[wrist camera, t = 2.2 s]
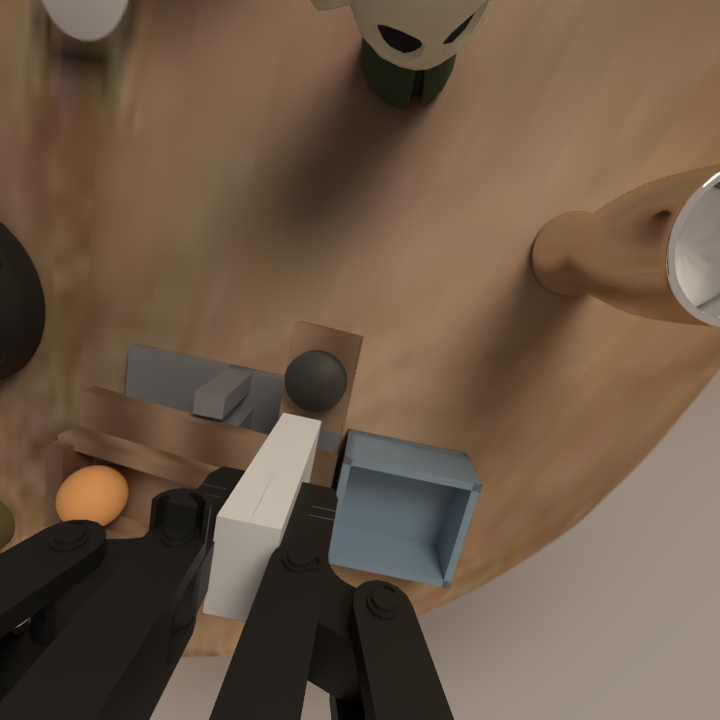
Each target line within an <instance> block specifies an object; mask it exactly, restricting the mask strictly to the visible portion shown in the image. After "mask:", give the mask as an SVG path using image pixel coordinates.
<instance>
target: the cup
mask: <svg viewBox="0 0 720 720" xmlns="http://www.w3.org/2000/svg"><path fill="white" fill-rule="evenodd" d="M481 486H482V485H481V482H480V480H479V478H478V476H477V474H476V472H475V470H474V468H473V466H472V464H471V462H470V459H469V457H468V455H467V454H466V453H461V452H456V451H452V450H447V449H442V448H437V447H433V446H428V445H423V444H418V443H414V442H409V441H404V440H399V439H395V438H390V437H385V436H381V435H376V434H371V433H366V432H362V431H357V430H352V429H349V431H348V436H347V440H346V445H345V449H344V454H343V458H342V463H341V468H340V472H339V477H338V481H337V486H336V490H335V493H336V495H337V498H338V503H337V509H336V514H335V520H334V526H333V531H332V537H331V543H330V548H329V554H328V561H329V564H333V565H338V566H343V567H348V568H352V569H357V570H362V571H367V572H372V573H376V574H381V575H386V576H391V577H396V578H401V579H405V580H410V581H415V582H420V583H425V584H430V585H434V586H439V587H444V588H450V584H451V581H452V578H453V575H454V572H455V569H456V565H457V562H458V559H459V556H460V553H461V550H462V546H463V543H464V540H465V537H466V534H467V531H468V527H469V524H470V521H471V518H472V515H473V512H474V508H475V505H476V502H477V499H478V496H479V493H480V489H481Z"/></svg>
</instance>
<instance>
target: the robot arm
mask: <svg viewBox="0 0 720 720" xmlns="http://www.w3.org/2000/svg"><path fill="white" fill-rule="evenodd" d="M44 317H45V306H44V297H43V291H42V287H41V283H40V280H39V277H38V274H37V272H36V269H35V267H34V265H33V263H32V261H31V259H30V257H29V256H28V254H27V252H26V251H25V249H24V248H23V246H22V245H21V243H20V242H19V241H18V240H17V238H16V237H15V236H14V235H13V234H12V233H11V232H10V231H9V230H8V229H7V228H6V227H5V226H4V225H3V224H2V223H1V222H0V379H3V378H5V377H7V376H9V375H11V374H13V373H14V372H16V371H17V370H18V369H20V368H21V367H22V366H23V365H24V364H25V363H26V362H27V361H28V360H29V358H30V357H31V356H32V354H33V353H34V351H35V349H36V347H37V345H38V343H39V341H40V338H41V335H42V331H43V326H44ZM321 422H322V421H319V420H315V419H310V418H305V417H301V416H296V415H291V414H287V413H283V414H282V416H281V417H280V419H279V421H278V422H277V424H276V425H275V427H274V428H273V430H272V431H271V433H270V434H269V436H268V437H267V439H266V441H265V442H264V444H263V445H262V447H261V448H260V450H259V451H258V453H257V454H256V456H255V458H254V459H253V461H252V462H251V464H250V465H249V467H248V468H247V470H246V471H244V470H240V469H235V468H230V467H226V466H223V467H221V468H219V469H217V470H215V471H213V472H211V473H210V474H209V475H208V476H207V477H206V479H205V480H204V481H203V482H202V484H201V485H200V486H199V487H198V489H197V490H195V489H188V488H178V489H170V490H167V491H165V492H162V493H159V494H158V495H157V496H155V497H154V498H152V503H151V513H150V524H149V531H148V532H147V533H146V534H145V535H144V536H143V537H139V538H129V539H106V532H105V528H104V527H103V526H102V525H101V524H99V523H98V522H95V521H91V520H87V519H86V520H69V521H65V522H60V523H57V524H55V525H53V526H50V527H48V528H46V529H44V530H42V531H40V532H38V533H37V534H35V535H33V536H31V537H30V538H28V539H26V540H24V541H22V542H21V543H19V544H17V545H15V546H13V547H12V548H10V549H8V550H6V551H5V552H3V553H1V554H0V720H149V719H150V717H151V715H152V713H153V711H154V709H155V707H156V705H157V703H158V701H159V699H160V697H161V695H162V693H163V691H164V689H165V687H166V685H167V683H168V681H169V679H170V677H171V675H172V673H173V671H174V669H175V667H176V665H177V663H178V661H179V659H180V658H181V656H182V654H183V652H184V650H185V648H186V646H187V644H188V642H189V640H190V638H191V636H192V634H193V630H194V627H195V622H196V615H197V611H198V609H199V607H200V606H201V604H202V602H203V600H204V598H205V601H204V608H203V613H206V614H210V615H215V616H220V617H224V618H229V619H234V620H238V621H243V622H246V623H245V625H244V628H243V631H242V633H241V636H240V639H239V641H238V644H237V647H236V649H235V652H234V655H233V657H232V660H231V663H230V665H229V668H228V671H227V673H226V676H225V678H224V681H223V684H222V687H221V689H220V692H219V694H218V697H217V700H216V702H215V705H214V708H213V710H212V713H211V716H210V718H209V720H300V718H301V712H302V707H303V702H304V696H305V690H306V684H307V680H308V681H310V682H311V683H313V684H315V685H316V686H318V687H319V688H321V689H323V690H324V691H326V692H327V693H329V694H330V699H329V700H330V709H331V719H332V720H454V718H453V716H452V713H451V710H450V707H449V705H448V702H447V699H446V696H445V694H444V691H443V688H442V685H441V683H440V680H439V677H438V675H437V672H436V669H435V666H434V663H433V661H432V658H431V656H430V652H429V650H428V647H427V644H426V641H425V639H424V636H423V633H422V630H421V628H420V625H419V622H418V620H417V617H416V614H415V611H414V608H413V606H412V604H411V602H410V600H409V599H408V597H407V595H406V594H405V593H404V592H402V591H401V590H400V589H399V588H398V587H396V586H394V585H392V584H390V583H388V582H384V581H378V580H374V581H367V582H365V583H363V584H361V585H360V586H358V588H355V587H353V586H351V585H349V584H348V583H346V582H344V581H343V580H341V579H340V578H339V577H338V576H337V575H336V574H335V573H334V572H333V570H332V569H331V567H330V564H329V561H328V554H329V548H330V543H331V537H332V531H333V526H334V520H335V514H336V509H337V503H338V498H337V495H336V493H335V491H334V489H333V488H329V487H324V486H320V485H315V484H310V483H309V482H310V477H311V472H312V467H313V462H314V457H315V452H316V447H317V442H318V437H319V432H320V427H321ZM27 619H28V621H26V622H25V623H24V624H22V625H21V626H19V627H17V626H18V625H20V624H21V623H22V622H24V621H25V620H27ZM16 627H17V628H16ZM14 628H15V629H14Z"/></svg>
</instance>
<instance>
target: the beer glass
mask: <svg viewBox="0 0 720 720" xmlns="http://www.w3.org/2000/svg"><path fill="white" fill-rule="evenodd" d="M531 259H532V267H533V271H534V273H535V275H536V277H537V279H538V280H539V282H540V283H541V284H542V285H543V286H544V287H545V288H547V289H548V290H550V291H552V292H554V293H556V294H560V295H567V296H573V295H581V294H585V293H587V294H589V295H591V296H593V297H595V298H596V299H598V300H600V301H602V302H604V303H606V304H608V305H610V306H612V307H614V308H617V309H619V310H621V311H624V312H626V313H629V314H632V315H636V316H640V317H644V318H648V319H652V320H658V321H665V322H671V323H680V324H690V325H702V326H714V327H718V328H720V164H717V165H712V166H707V167H702V168H697V169H692V170H688V171H684V172H681V173H677V174H673V175H669V176H666V177H663V178H660V179H657V180H654V181H652V182H649V183H646V184H643V185H641V186H639V187H637V188H635V189H633V190H631V191H629V192H627V193H625V194H623V195H621V196H619V197H617V198H616V199H614V200H612V201H611V202H609V203H607V204H606V205H604V206H602V207H601V208H599V209H598V210H596V211H594V212H587V211H571V212H567V213H564V214H561V215H559V216H557V217H556V218H554V219H552V220H551V221H550V222H549V223H548V224H546V225H545V227H544V228H543V229H542V230H541V231H540V233H539V234H538V236H537V238H536V240H535V242H534V245H533V249H532V258H531Z"/></svg>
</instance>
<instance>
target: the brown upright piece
mask: <svg viewBox="0 0 720 720" xmlns="http://www.w3.org/2000/svg"><path fill="white" fill-rule="evenodd" d="M14 529H15V524H14V520H13V517H12V515H11V513H10V511H9V510H8V508H7V507H6V506H5V505H4V504H3V503H2V502H1V501H0V548H1V547H3V546H4V545H6V544H7V543H8V542H10V540H11V538H12V537H13V535H14Z"/></svg>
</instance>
